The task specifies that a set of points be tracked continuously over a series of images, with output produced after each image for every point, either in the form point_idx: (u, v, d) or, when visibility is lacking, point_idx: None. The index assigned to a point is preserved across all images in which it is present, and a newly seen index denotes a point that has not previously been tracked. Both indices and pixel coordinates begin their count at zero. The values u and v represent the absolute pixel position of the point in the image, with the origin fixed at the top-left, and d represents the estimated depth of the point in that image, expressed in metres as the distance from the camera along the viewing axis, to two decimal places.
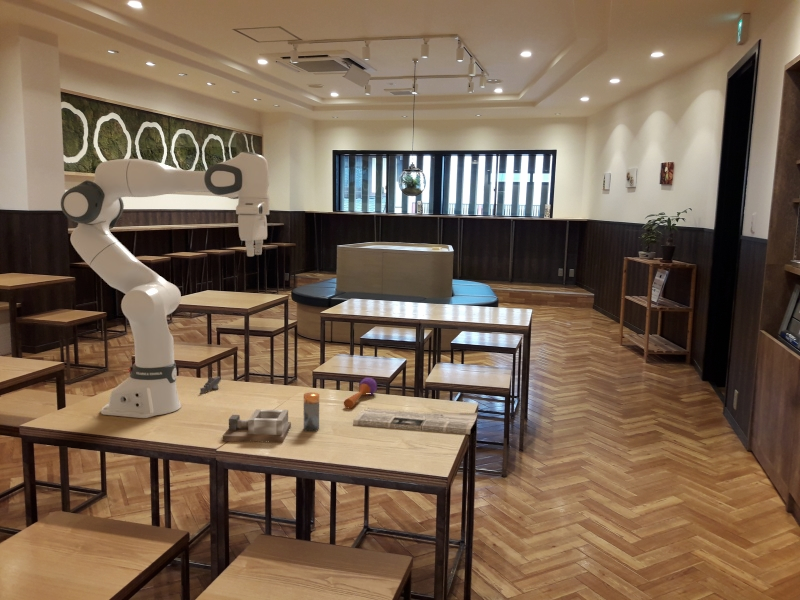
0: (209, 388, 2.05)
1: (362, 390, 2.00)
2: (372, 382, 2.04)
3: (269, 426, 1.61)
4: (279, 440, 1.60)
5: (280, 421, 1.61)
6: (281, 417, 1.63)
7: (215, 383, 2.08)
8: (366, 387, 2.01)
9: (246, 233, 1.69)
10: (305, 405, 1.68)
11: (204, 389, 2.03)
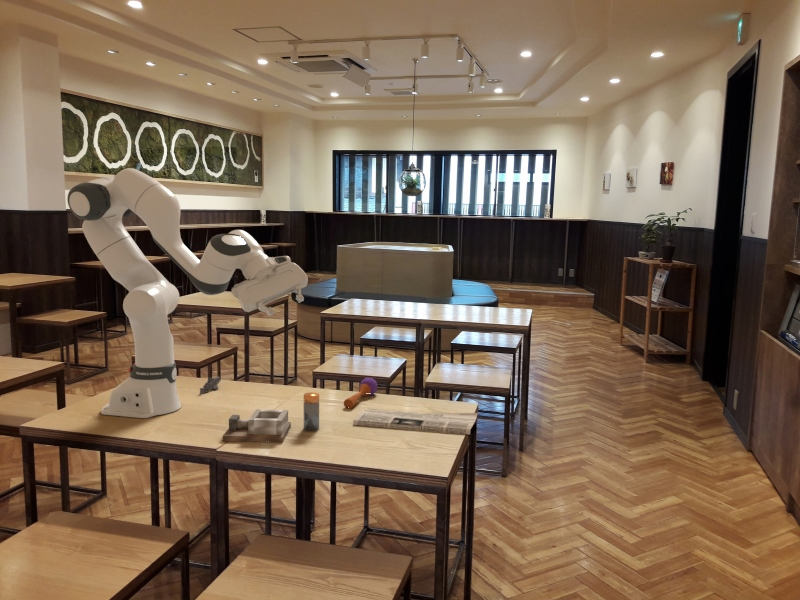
0: (209, 388, 2.05)
1: (362, 390, 2.00)
2: (372, 382, 2.04)
3: (269, 426, 1.61)
4: (279, 440, 1.60)
5: (280, 421, 1.61)
6: (281, 417, 1.63)
7: (215, 383, 2.08)
8: (366, 387, 2.01)
9: None
10: (305, 405, 1.68)
11: (204, 389, 2.03)
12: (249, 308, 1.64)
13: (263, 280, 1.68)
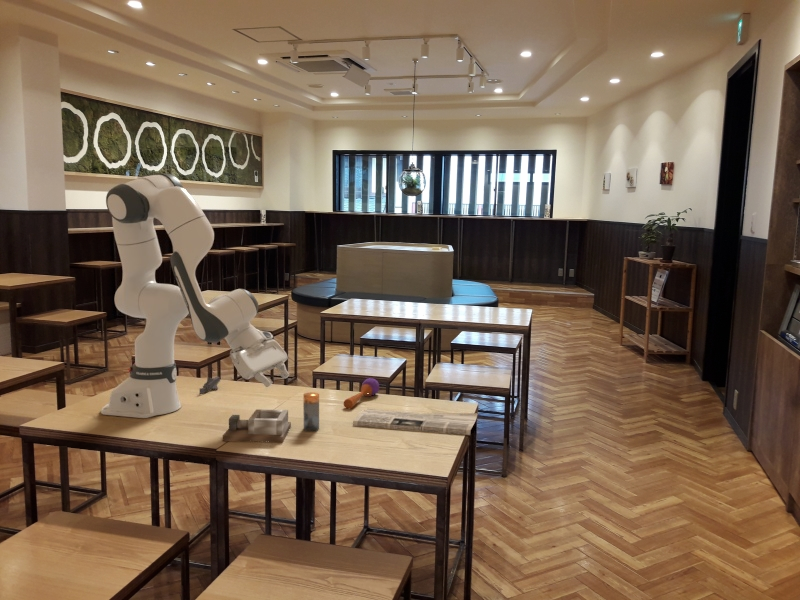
0: (208, 388, 2.05)
1: (363, 391, 2.00)
2: (374, 383, 2.03)
3: (269, 426, 1.61)
4: (279, 440, 1.60)
5: (280, 421, 1.61)
6: (281, 417, 1.63)
7: (214, 383, 2.08)
8: (368, 388, 2.01)
9: None
10: (305, 405, 1.68)
11: (203, 389, 2.02)
12: (251, 376, 1.63)
13: (257, 351, 1.70)
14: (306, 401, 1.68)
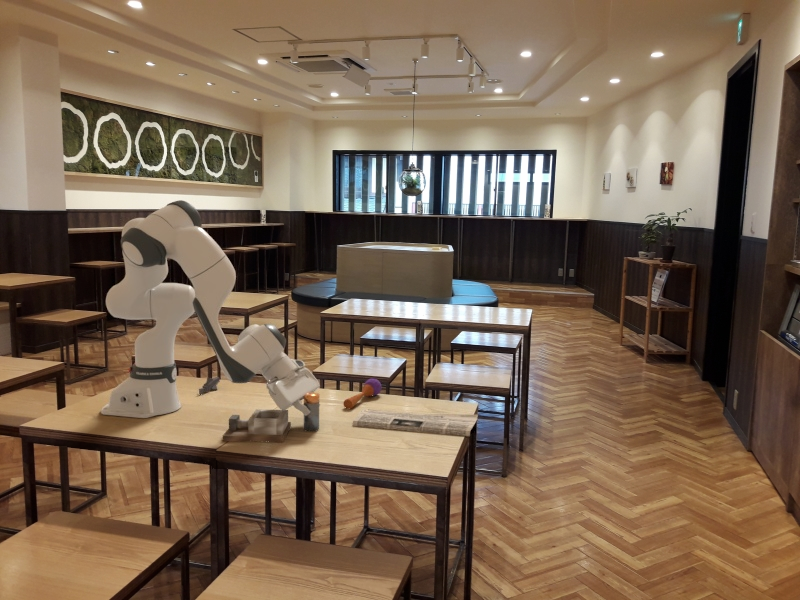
0: (208, 389, 2.04)
1: (365, 391, 1.99)
2: (376, 383, 2.03)
3: (269, 426, 1.61)
4: (279, 440, 1.60)
5: (280, 421, 1.61)
6: (281, 417, 1.63)
7: (214, 384, 2.08)
8: (369, 388, 2.00)
9: None
10: (305, 405, 1.68)
11: (203, 390, 2.02)
12: (288, 407, 1.62)
13: (291, 380, 1.69)
14: (306, 401, 1.68)
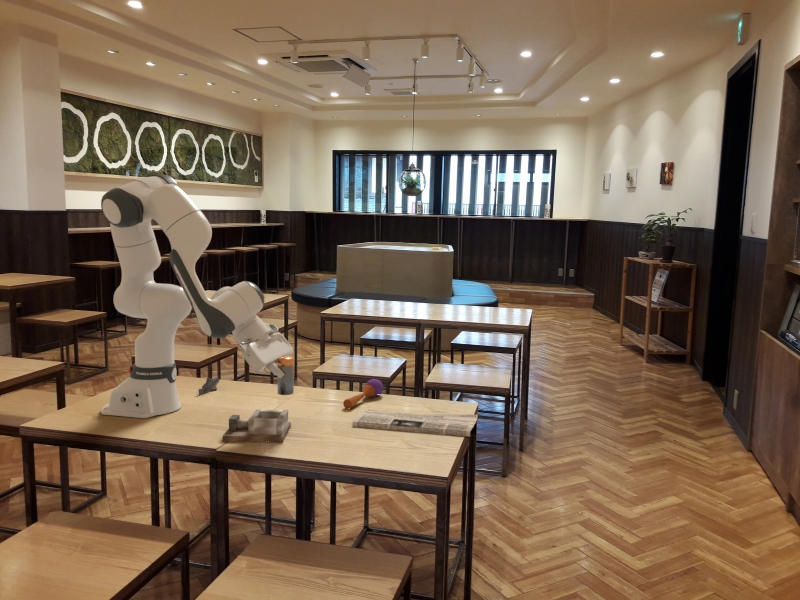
0: (207, 389, 2.04)
1: (366, 391, 1.99)
2: (377, 384, 2.02)
3: (269, 426, 1.61)
4: (279, 440, 1.60)
5: (280, 421, 1.61)
6: (281, 417, 1.63)
7: (213, 384, 2.07)
8: (370, 388, 2.00)
9: None
10: None
11: (202, 390, 2.02)
12: (262, 368, 1.59)
13: (265, 343, 1.66)
14: (281, 364, 1.65)
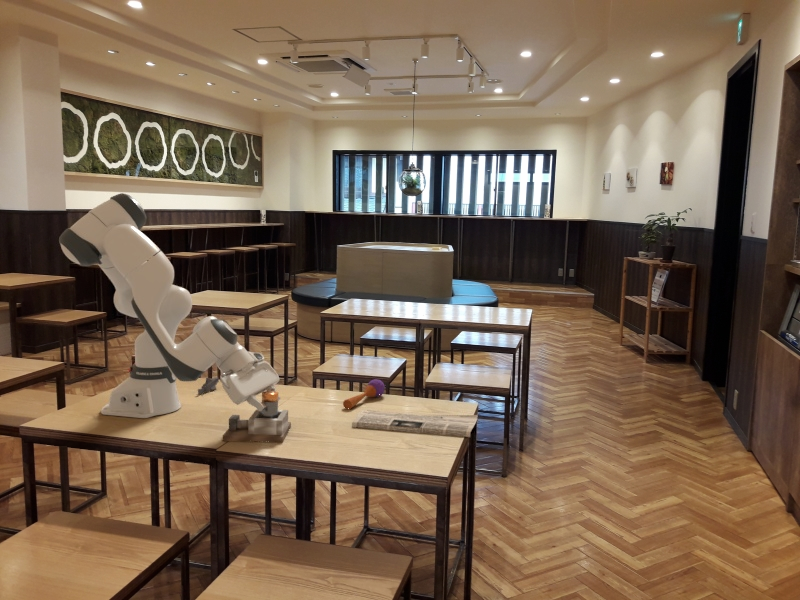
0: (207, 389, 2.04)
1: (367, 392, 1.98)
2: (379, 384, 2.02)
3: (269, 426, 1.61)
4: (279, 440, 1.60)
5: (280, 421, 1.61)
6: (281, 417, 1.63)
7: (213, 384, 2.07)
8: (371, 389, 1.99)
9: None
10: None
11: (202, 390, 2.02)
12: (242, 401, 1.57)
13: (248, 374, 1.64)
14: (264, 399, 1.63)
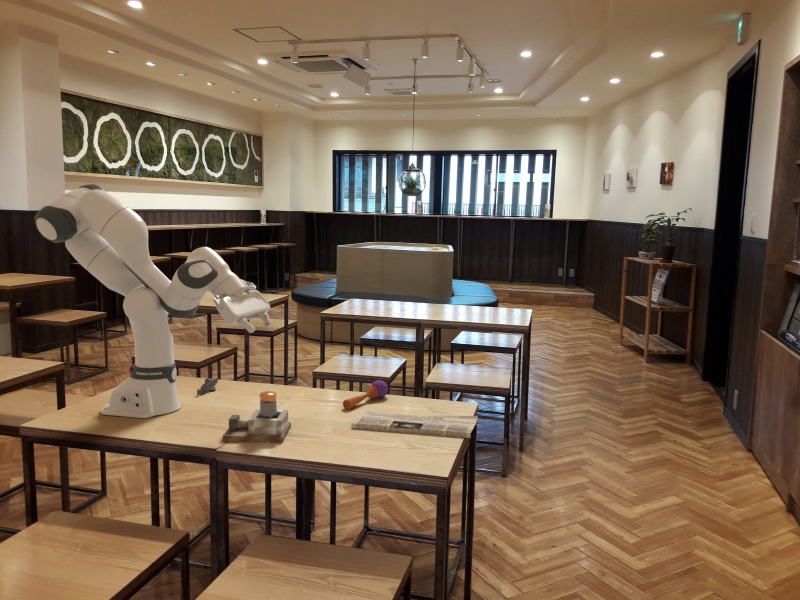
0: (206, 389, 2.03)
1: (368, 392, 1.98)
2: (381, 385, 2.01)
3: (269, 426, 1.61)
4: (279, 440, 1.60)
5: (280, 421, 1.61)
6: (281, 417, 1.63)
7: (212, 384, 2.07)
8: (373, 390, 1.99)
9: None
10: (261, 404, 1.63)
11: (201, 390, 2.01)
12: (234, 321, 1.66)
13: (240, 299, 1.73)
14: (262, 400, 1.63)
